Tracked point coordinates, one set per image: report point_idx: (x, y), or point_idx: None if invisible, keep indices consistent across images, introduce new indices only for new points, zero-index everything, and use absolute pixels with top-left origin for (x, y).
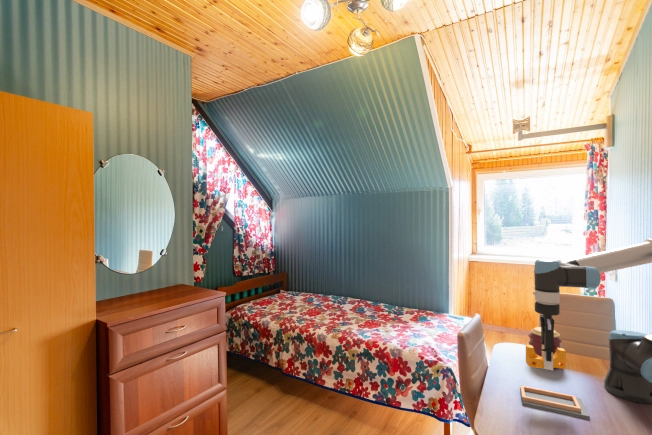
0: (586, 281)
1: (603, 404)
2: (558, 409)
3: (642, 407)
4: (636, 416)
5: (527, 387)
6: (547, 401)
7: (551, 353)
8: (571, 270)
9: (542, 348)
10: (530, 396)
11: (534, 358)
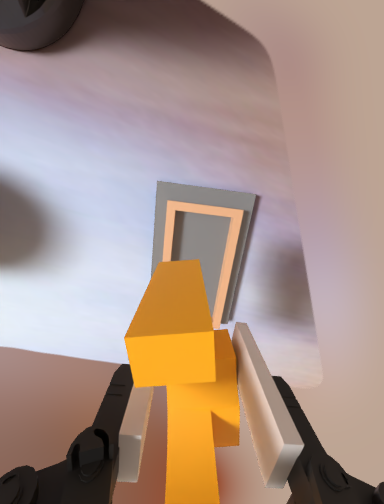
0: None
1: (154, 117)
2: (239, 259)
3: None
4: (199, 34)
5: None
6: (226, 281)
7: (291, 434)
8: None
9: (144, 437)
10: None
11: (238, 428)
